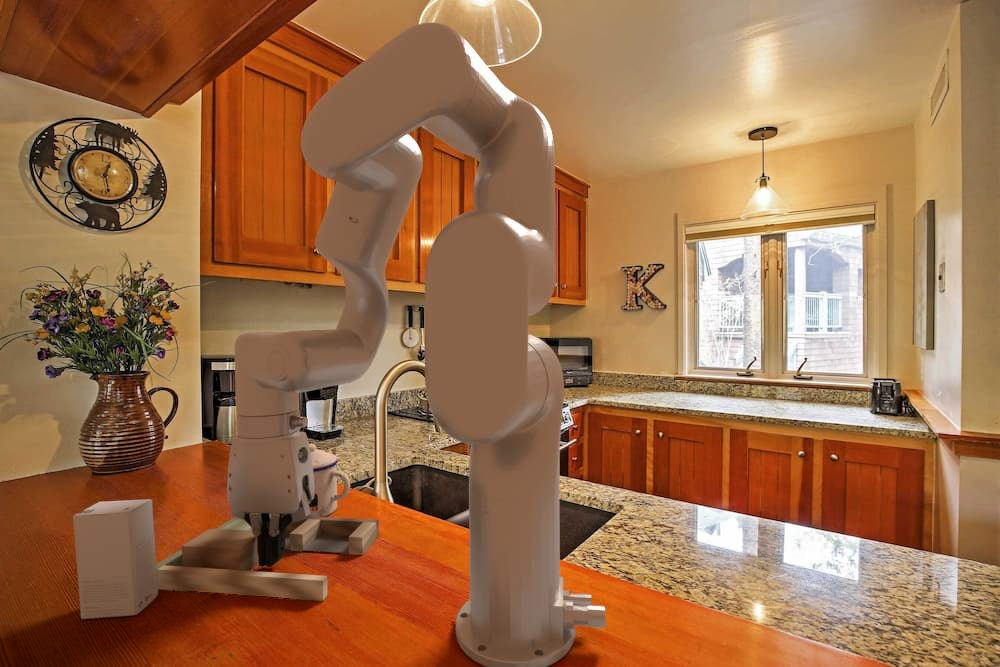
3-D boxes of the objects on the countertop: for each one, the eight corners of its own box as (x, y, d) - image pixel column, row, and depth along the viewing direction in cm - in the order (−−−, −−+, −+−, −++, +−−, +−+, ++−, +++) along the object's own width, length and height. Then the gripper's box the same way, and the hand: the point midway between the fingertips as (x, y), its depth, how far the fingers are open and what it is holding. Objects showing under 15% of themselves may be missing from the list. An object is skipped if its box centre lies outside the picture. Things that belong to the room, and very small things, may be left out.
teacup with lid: (270, 520, 78) (268, 451, 78) (304, 499, 87) (302, 437, 87) (335, 526, 75) (333, 454, 75) (363, 504, 84) (362, 440, 84)
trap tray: (379, 535, 72) (378, 519, 72) (323, 601, 55) (322, 580, 55) (241, 528, 75) (241, 513, 75) (149, 588, 58) (148, 569, 58)
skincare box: (159, 595, 57) (157, 496, 56) (134, 618, 52) (131, 511, 52) (105, 598, 56) (102, 499, 56) (74, 622, 52) (71, 514, 51)
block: (264, 562, 64) (263, 530, 64) (240, 583, 60) (239, 548, 59) (210, 560, 65) (209, 528, 65) (182, 580, 60) (181, 545, 60)
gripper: (335, 420, 65) (338, 550, 65) (236, 418, 67) (239, 545, 67) (306, 432, 57) (309, 580, 58) (195, 430, 59) (199, 573, 60)
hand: (271, 561), depth 62 cm, fingers closed
